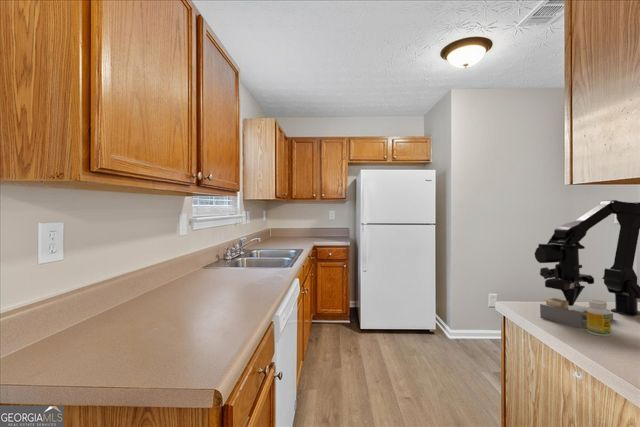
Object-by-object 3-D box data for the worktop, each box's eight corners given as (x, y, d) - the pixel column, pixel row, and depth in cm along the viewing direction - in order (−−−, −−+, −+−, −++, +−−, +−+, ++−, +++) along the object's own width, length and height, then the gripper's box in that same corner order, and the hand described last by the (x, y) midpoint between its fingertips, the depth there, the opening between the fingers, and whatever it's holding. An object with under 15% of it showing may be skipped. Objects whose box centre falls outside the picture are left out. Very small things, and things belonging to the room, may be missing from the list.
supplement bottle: (590, 328, 99) (589, 298, 99) (613, 333, 94) (612, 301, 94) (584, 332, 96) (583, 301, 96) (607, 338, 91) (606, 305, 91)
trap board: (571, 309, 118) (571, 297, 118) (613, 319, 106) (612, 305, 106) (540, 316, 110) (540, 304, 110) (581, 328, 99) (581, 314, 99)
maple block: (554, 309, 112) (554, 298, 112) (568, 312, 108) (568, 301, 108) (546, 311, 110) (546, 299, 110) (560, 314, 106) (560, 303, 106)
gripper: (559, 256, 123) (561, 296, 123) (528, 261, 116) (530, 304, 116) (593, 260, 113) (595, 303, 113) (562, 265, 105) (564, 312, 105)
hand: (570, 305), depth 112 cm, fingers closed
